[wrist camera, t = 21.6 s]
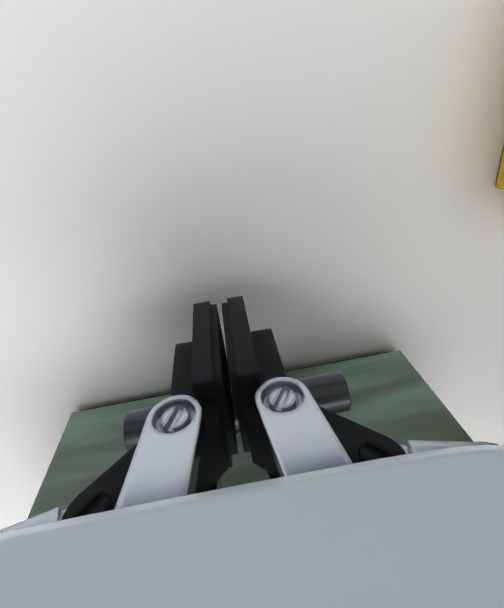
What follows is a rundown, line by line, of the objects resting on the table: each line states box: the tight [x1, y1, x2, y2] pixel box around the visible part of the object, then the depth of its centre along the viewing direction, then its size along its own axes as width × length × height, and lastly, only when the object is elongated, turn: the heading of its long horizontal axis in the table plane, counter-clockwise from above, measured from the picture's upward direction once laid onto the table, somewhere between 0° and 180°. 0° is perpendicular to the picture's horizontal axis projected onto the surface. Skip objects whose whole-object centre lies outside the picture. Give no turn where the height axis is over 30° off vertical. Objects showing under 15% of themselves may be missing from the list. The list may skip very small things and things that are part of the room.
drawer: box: [27, 351, 473, 519], centre depth 17 cm, size 16×17×7 cm
